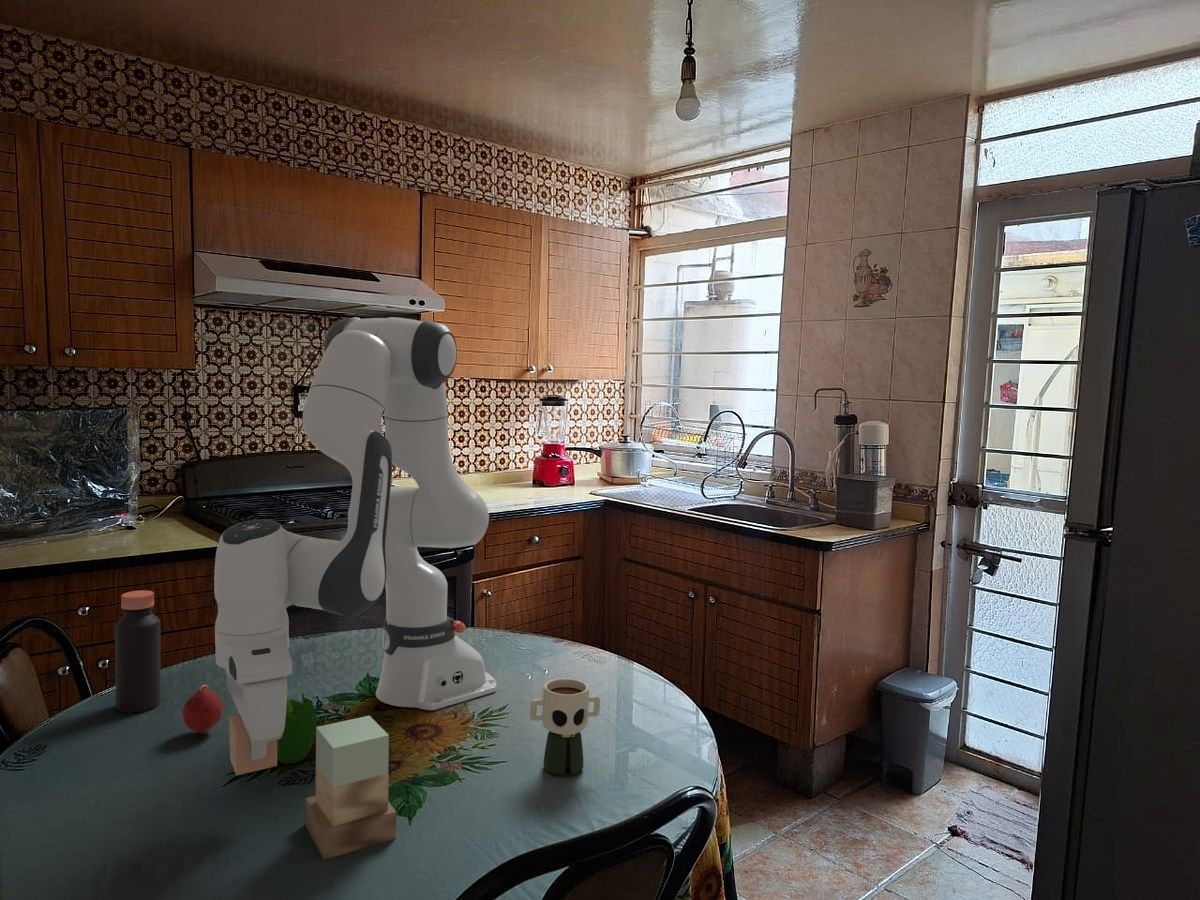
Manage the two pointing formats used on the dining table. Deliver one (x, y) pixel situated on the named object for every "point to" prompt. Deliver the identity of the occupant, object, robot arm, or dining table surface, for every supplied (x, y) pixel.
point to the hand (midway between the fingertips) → (253, 746)
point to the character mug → (564, 722)
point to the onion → (202, 710)
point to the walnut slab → (348, 830)
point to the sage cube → (351, 750)
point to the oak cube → (351, 798)
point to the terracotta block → (247, 749)
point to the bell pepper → (297, 732)
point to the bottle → (137, 654)
